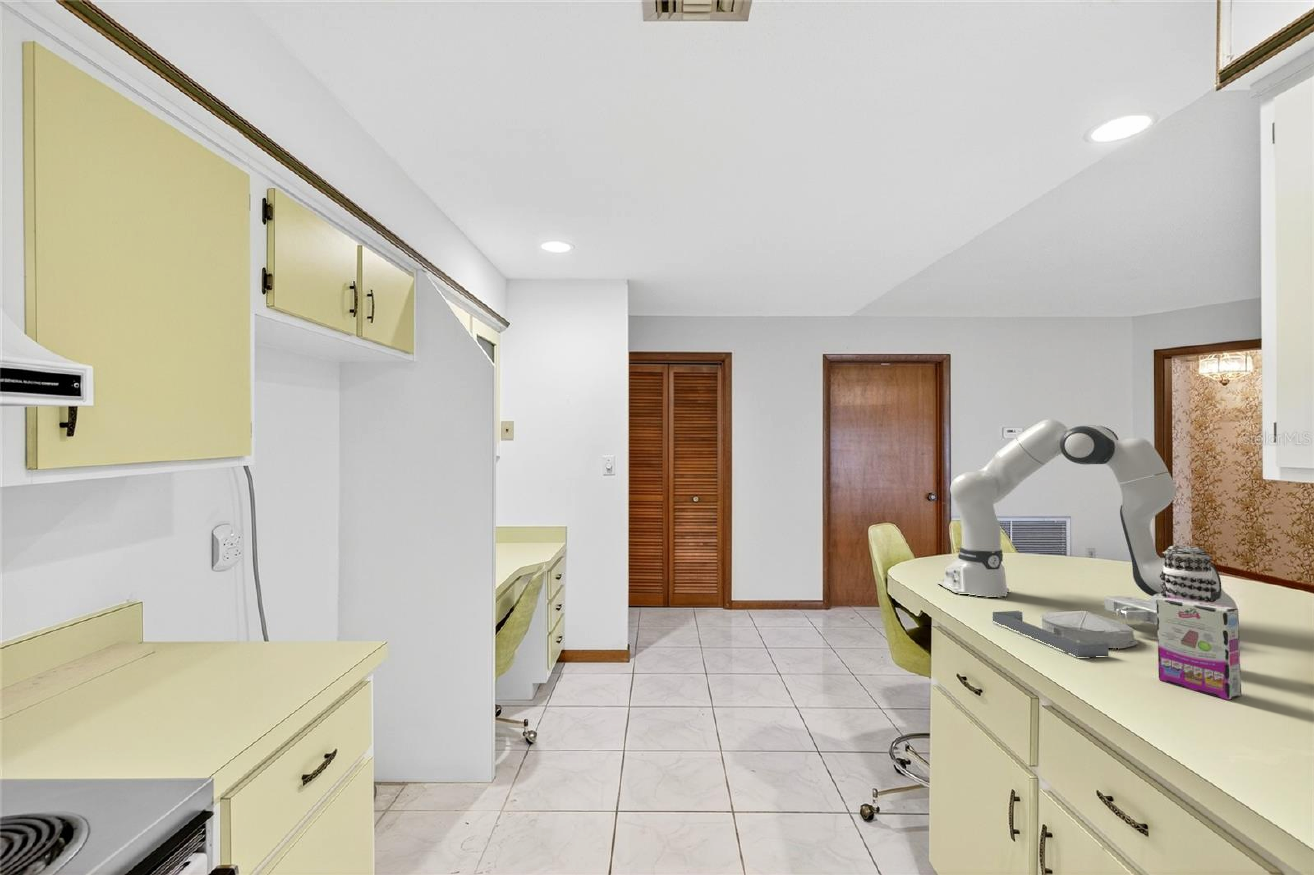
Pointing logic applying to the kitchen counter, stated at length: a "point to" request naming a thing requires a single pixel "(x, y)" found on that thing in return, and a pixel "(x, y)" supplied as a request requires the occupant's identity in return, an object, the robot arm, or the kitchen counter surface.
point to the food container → (1089, 628)
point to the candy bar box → (1199, 646)
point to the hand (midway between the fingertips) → (1121, 613)
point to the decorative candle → (1187, 574)
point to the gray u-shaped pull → (1050, 636)
